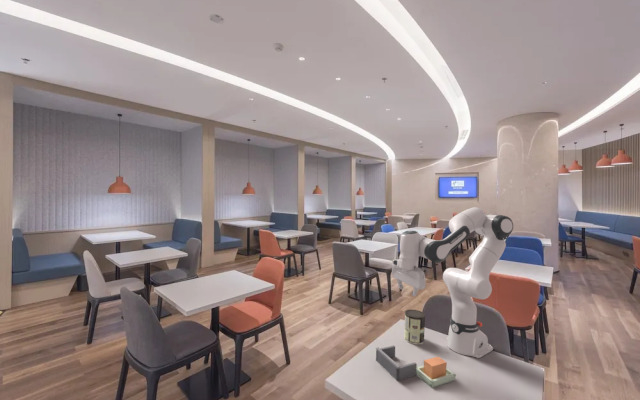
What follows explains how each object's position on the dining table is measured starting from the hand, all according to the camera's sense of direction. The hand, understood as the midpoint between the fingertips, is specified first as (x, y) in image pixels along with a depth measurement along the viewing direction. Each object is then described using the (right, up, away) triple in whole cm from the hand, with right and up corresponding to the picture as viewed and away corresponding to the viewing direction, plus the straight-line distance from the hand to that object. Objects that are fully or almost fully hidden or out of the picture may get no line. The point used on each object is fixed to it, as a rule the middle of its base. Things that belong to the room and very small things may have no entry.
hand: (407, 292), depth 135 cm
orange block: (+6, -29, -18) cm, 35 cm away
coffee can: (+7, -29, +12) cm, 32 cm away
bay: (-9, -29, -13) cm, 33 cm away
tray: (+6, -30, -18) cm, 35 cm away
